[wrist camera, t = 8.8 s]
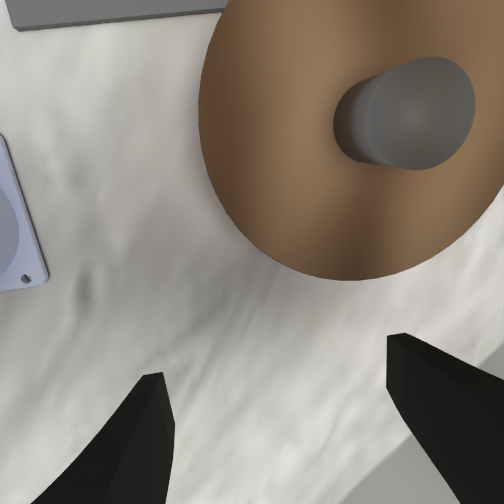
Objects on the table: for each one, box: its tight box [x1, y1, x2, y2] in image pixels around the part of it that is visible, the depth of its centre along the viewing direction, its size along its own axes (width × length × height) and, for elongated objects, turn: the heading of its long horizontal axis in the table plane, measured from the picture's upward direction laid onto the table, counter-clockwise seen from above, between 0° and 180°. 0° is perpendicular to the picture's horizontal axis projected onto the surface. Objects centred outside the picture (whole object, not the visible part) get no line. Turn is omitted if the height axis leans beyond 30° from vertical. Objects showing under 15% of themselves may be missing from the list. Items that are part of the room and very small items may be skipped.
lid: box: [198, 0, 504, 281], centre depth 12 cm, size 13×13×4 cm
